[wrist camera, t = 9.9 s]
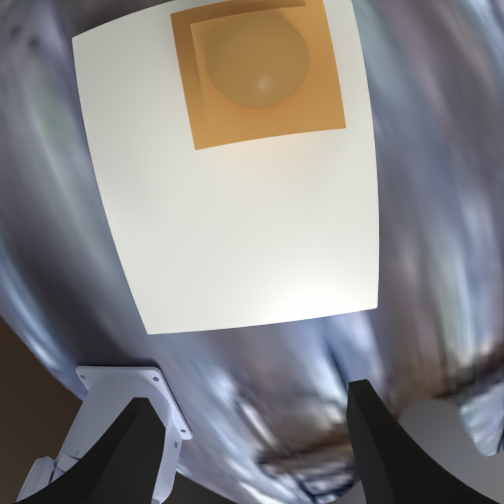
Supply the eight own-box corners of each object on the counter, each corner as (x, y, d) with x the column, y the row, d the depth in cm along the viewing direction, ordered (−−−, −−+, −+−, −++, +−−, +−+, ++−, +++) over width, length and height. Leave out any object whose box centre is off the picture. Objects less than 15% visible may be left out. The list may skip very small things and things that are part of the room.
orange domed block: (321, 124, 14) (354, 129, 9) (214, 139, 14) (188, 154, 9) (303, 24, 12) (325, -20, 7) (195, 40, 12) (161, 5, 7)
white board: (370, 294, 19) (376, 307, 18) (154, 320, 20) (147, 334, 19) (339, -11, 12) (345, -20, 11) (85, 42, 13) (72, 38, 12)
